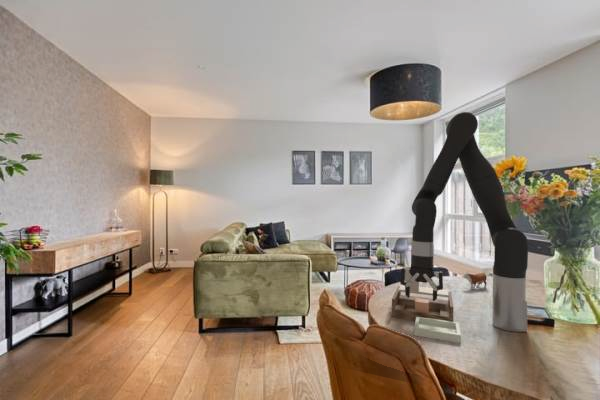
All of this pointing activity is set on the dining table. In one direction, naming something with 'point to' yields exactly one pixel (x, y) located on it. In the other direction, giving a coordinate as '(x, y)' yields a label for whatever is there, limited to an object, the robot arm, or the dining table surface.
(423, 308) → the terracotta block
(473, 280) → the bull figurine
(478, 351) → the dining table surface
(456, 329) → the sage tray
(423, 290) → the cover
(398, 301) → the brown wooden box
